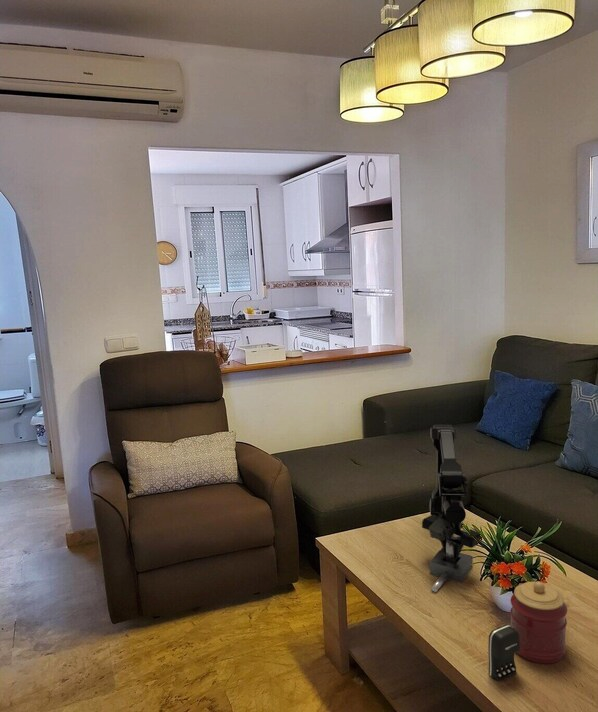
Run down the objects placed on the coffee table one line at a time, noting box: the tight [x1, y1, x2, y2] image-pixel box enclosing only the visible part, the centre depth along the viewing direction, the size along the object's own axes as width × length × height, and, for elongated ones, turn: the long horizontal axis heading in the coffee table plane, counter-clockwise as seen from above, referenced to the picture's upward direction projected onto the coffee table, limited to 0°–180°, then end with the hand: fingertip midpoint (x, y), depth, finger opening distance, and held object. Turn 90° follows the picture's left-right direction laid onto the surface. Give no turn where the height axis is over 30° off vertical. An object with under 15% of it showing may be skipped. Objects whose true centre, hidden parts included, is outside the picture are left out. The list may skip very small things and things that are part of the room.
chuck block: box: [429, 547, 474, 594], centre depth 178 cm, size 19×10×4 cm, turn 145°
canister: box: [510, 580, 568, 665], centre depth 144 cm, size 13×13×18 cm
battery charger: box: [488, 624, 520, 681], centre depth 136 cm, size 7×4×11 cm, turn 116°
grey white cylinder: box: [446, 535, 457, 564], centre depth 181 cm, size 3×3×8 cm
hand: (451, 555), depth 181 cm, fingers closed on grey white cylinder, 3 cm apart
